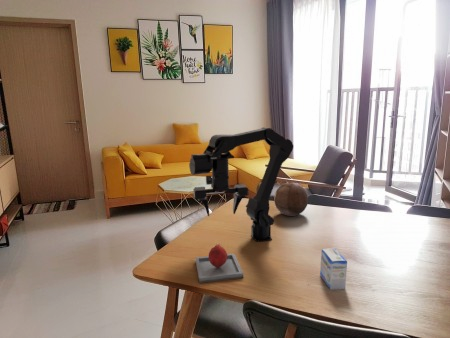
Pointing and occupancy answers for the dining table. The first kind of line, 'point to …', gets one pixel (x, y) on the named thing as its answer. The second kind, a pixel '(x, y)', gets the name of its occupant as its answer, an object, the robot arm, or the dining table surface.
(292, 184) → the wooden sphere
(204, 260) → the dish
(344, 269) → the medicine box
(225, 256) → the onion
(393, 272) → the dining table surface
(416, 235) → the dining table surface
